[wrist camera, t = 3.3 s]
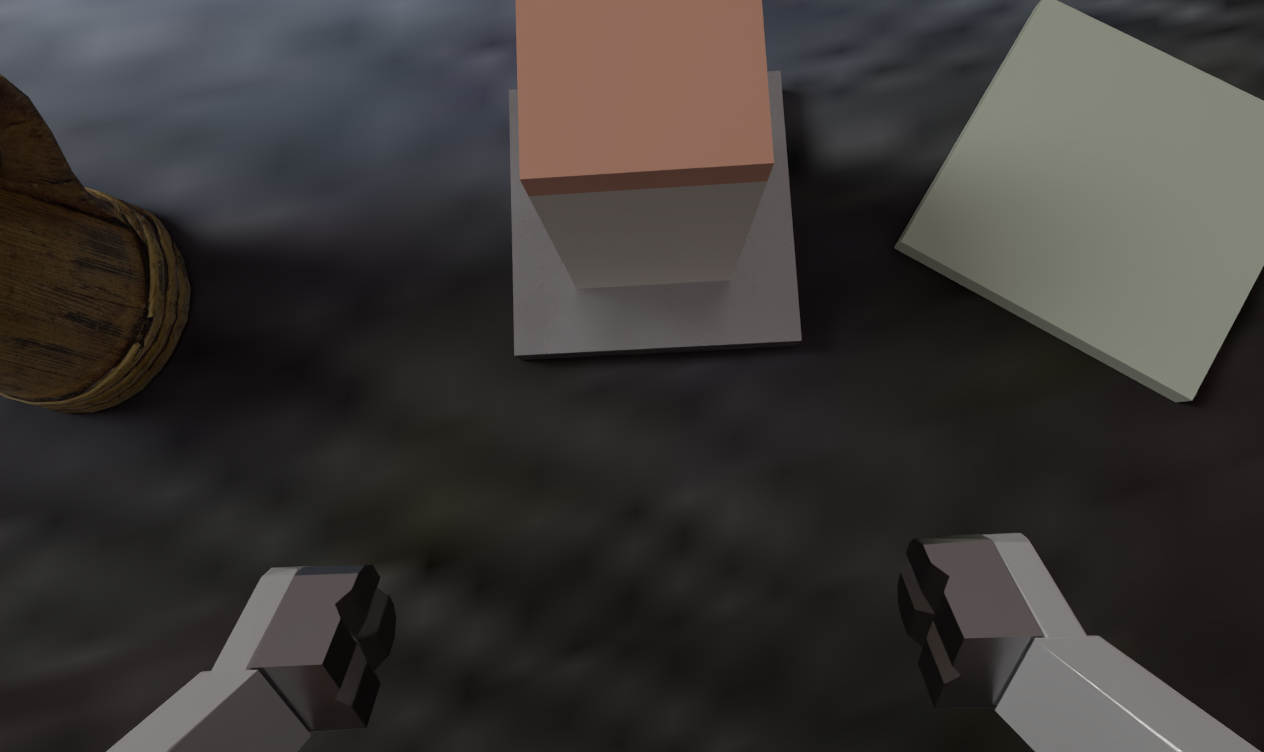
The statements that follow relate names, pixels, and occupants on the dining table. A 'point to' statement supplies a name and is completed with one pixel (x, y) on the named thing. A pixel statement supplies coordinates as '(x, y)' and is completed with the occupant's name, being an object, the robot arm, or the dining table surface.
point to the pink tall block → (644, 134)
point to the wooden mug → (77, 278)
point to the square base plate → (663, 313)
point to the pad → (1104, 199)
